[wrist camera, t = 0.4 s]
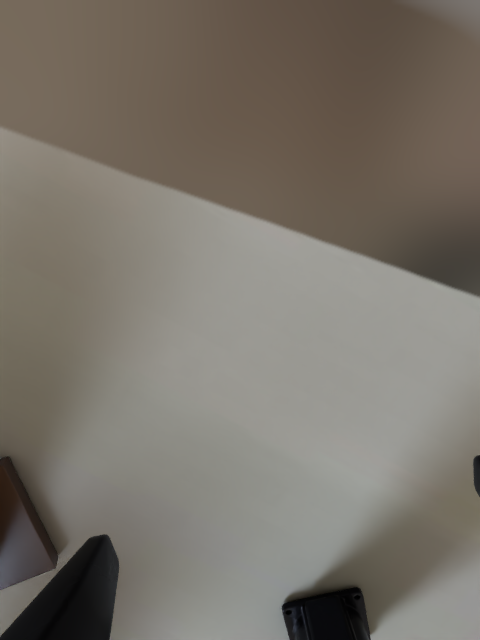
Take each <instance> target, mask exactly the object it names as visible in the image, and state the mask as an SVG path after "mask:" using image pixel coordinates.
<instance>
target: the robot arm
mask: <svg viewBox="0 0 480 640" xmlns="http://www.w3.org/2000/svg"><path fill="white" fill-rule="evenodd" d="M473 468H474V486H475V489H476V491H477V493H478V495H479V497H480V455H478V456H476V457H475V458H474V460H473ZM118 574H119V561H118V557H117V555H116V552H115V550H114V547H113V545H112V542H111V540H110V538H109V536H108V535H105V534H104V535H99V536H94V537H91V538H89V539H88V540H87V541H86V542H85V543H84V544H83V546H82V547H81V548H80V549H79V550H78V551H77V552H76V553H75V554H74V556H73V557H72V558H71V559H70V560H69V561H68V562H67V563H66V564H65V566H64V567H63V568H62V569H61V570H60V571H59V572H58V573H57V574H56V576H55V577H54V578H53V579H52V580H51V581H50V582H49V583H48V584H47V586H46V587H45V588H44V589H43V590H42V591H41V592H40V593H39V594H38V596H37V597H36V598H35V599H34V600H33V601H32V602H31V603H30V604H29V606H28V607H27V608H26V609H25V610H24V611H23V612H22V613H21V614H20V615H19V617H18V618H17V619H16V620H15V621H14V622H13V623H12V624H11V625H10V627H9V628H8V629H7V630H6V631H5V632H4V633H3V634H2V635H1V637H0V640H109V639H110V633H111V626H112V618H113V611H114V603H115V596H116V588H117V581H118ZM282 612H283V616H284V620H285V624H286V628H287V631H288V635H289V639H290V640H371V639H370V633H369V627H368V621H367V615H366V609H365V603H364V598H363V594H362V591H361V589H360V588H351V589H347V590H342V591H338V592H333V593H328V594H324V595H319V596H315V597H310V598H306V599H301V600H297V601H292V602H288V603H285V604H283V606H282Z"/></svg>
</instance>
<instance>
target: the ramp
mask: <svg viewBox="0 0 480 640" xmlns="http://www.w3.org/2000/svg"><path fill="white" fill-rule="evenodd" d="M57 560H58V555H57V553H56V551H55V549H54V547H53V545H52V543H51V541H50V539H49V537H48V535H47V533H46V531H45V529H44V527H43V525H42V523H41V521H40V519H39V517H38V515H37V513H36V511H35V509H34V507H33V505H32V503H31V501H30V499H29V497H28V495H27V493H26V491H25V489H24V487H23V485H22V483H21V481H20V479H19V477H18V475H17V473H16V471H15V469H14V467H13V465H12V463H11V461H10V459H9V457H5V458H2V459H0V590H2V589H4V588H7V587H9V586H12V585H14V584H17V583H19V582H22V581H24V580H27V579H29V578H32V577H35V576H37V575H40V574H42V573H45V572H47V571H50V570H52V569H55V568H56V564H57Z"/></svg>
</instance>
